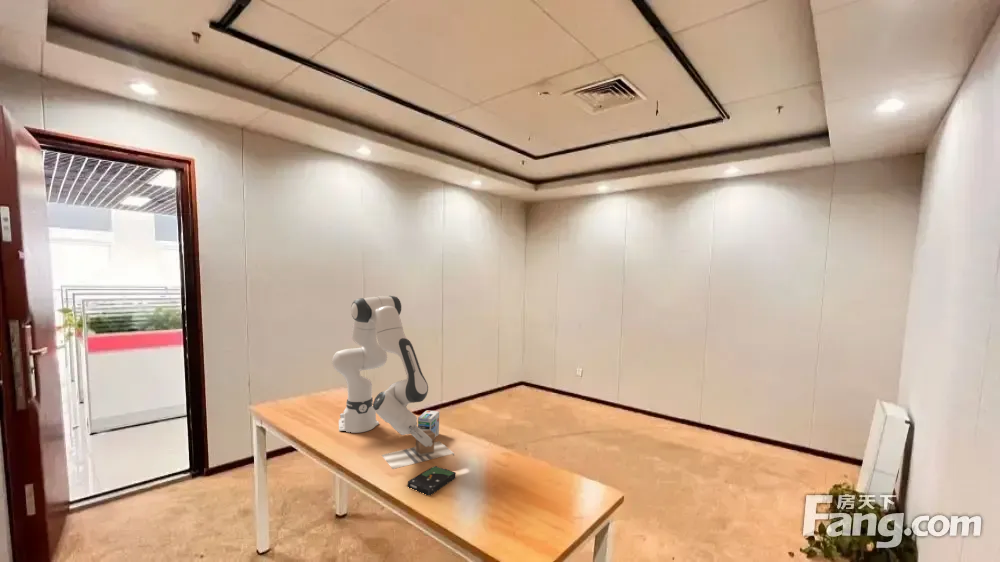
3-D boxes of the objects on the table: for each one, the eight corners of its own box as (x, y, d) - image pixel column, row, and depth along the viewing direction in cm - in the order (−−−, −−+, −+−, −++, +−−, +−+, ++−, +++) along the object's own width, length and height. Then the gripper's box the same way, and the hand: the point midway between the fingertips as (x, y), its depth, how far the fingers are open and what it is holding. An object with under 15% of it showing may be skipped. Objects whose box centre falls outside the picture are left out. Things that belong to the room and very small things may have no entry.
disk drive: (429, 498, 136) (456, 479, 149) (429, 490, 136) (456, 471, 149) (407, 489, 142) (434, 471, 155) (407, 481, 142) (434, 464, 154)
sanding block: (415, 451, 167) (416, 431, 167) (428, 448, 170) (430, 429, 170) (419, 455, 163) (421, 436, 163) (433, 453, 166) (434, 433, 166)
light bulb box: (431, 442, 180) (431, 418, 180) (417, 441, 181) (417, 417, 181) (439, 433, 190) (439, 411, 190) (426, 432, 192) (426, 409, 191)
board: (381, 458, 164) (381, 454, 164) (439, 444, 178) (439, 441, 178) (392, 473, 152) (392, 469, 152) (454, 456, 166) (454, 453, 166)
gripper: (421, 424, 154) (443, 444, 160) (402, 409, 171) (423, 427, 177) (409, 438, 152) (433, 458, 157) (392, 421, 169) (413, 439, 174)
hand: (428, 441), depth 167 cm, fingers closed on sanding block, 5 cm apart
